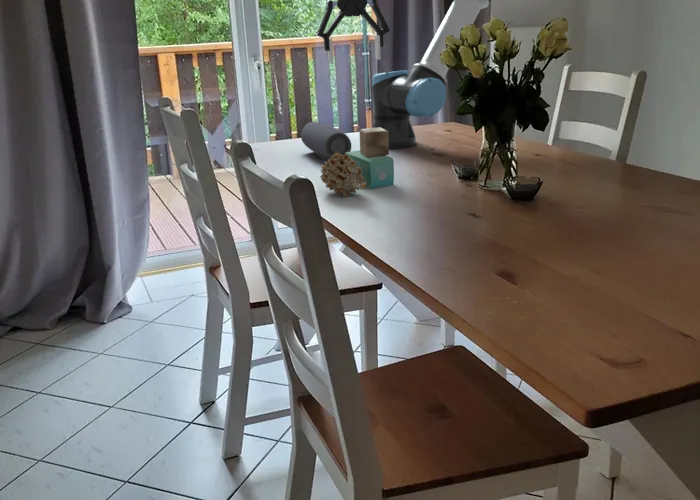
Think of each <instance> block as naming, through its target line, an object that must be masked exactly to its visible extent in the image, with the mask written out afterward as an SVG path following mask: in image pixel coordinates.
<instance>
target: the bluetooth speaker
mask: <svg viewBox="0 0 700 500" xmlns="http://www.w3.org/2000/svg"><path fill="white" fill-rule="evenodd" d="M300 140H301V141H302V143H303V144H304V145H305V147H306V148H308V149H309V150H311V151H312V152H313V153H315V154H316V155H317V157H318V158H320V159H321V160H323V159H324V161H325V162H328V161H327V160H328V159H331V156H333V155H334V153H340V154H341V155H344V153H346V152H352V151H351V150H352V142H351V139H350V137H349V135H347V134H346V133H345V132H343V131H341V130H339V129H337V128H335V127H333V126H331V125H329V124H326V123H322V122H316V121H311V122H308V123H306V124H304V126H303V128H302V129H301V133H300Z"/></svg>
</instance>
